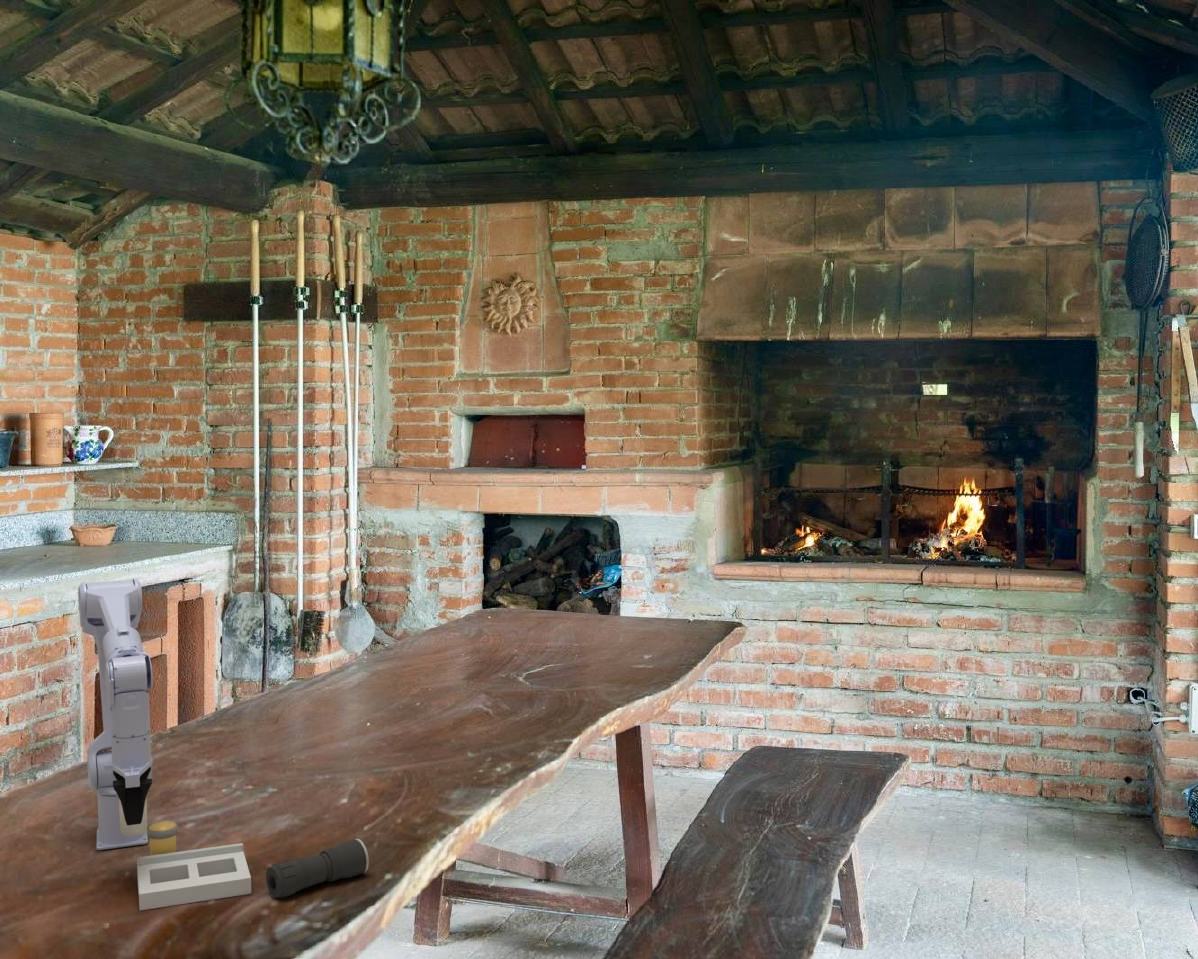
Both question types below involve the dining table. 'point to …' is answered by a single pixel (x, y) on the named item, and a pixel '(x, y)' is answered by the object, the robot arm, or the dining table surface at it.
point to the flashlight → (317, 868)
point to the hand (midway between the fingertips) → (133, 818)
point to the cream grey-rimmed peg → (132, 829)
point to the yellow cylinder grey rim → (162, 837)
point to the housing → (192, 876)
